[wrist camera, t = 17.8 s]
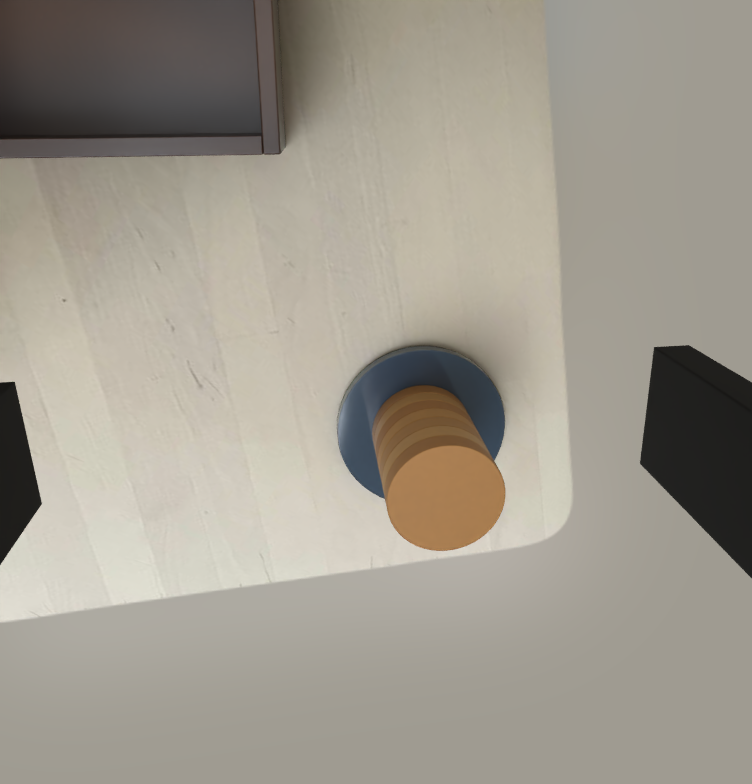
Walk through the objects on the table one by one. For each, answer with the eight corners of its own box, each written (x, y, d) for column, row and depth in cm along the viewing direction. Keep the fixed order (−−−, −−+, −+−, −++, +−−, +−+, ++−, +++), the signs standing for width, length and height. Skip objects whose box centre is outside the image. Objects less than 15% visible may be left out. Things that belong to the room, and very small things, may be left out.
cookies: (471, 382, 50) (508, 442, 40) (467, 472, 52) (502, 547, 43) (371, 387, 49) (386, 448, 40) (372, 477, 51) (387, 554, 42)
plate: (505, 342, 50) (509, 346, 49) (497, 493, 54) (500, 500, 53) (334, 348, 49) (334, 353, 48) (339, 502, 53) (340, 509, 52)
